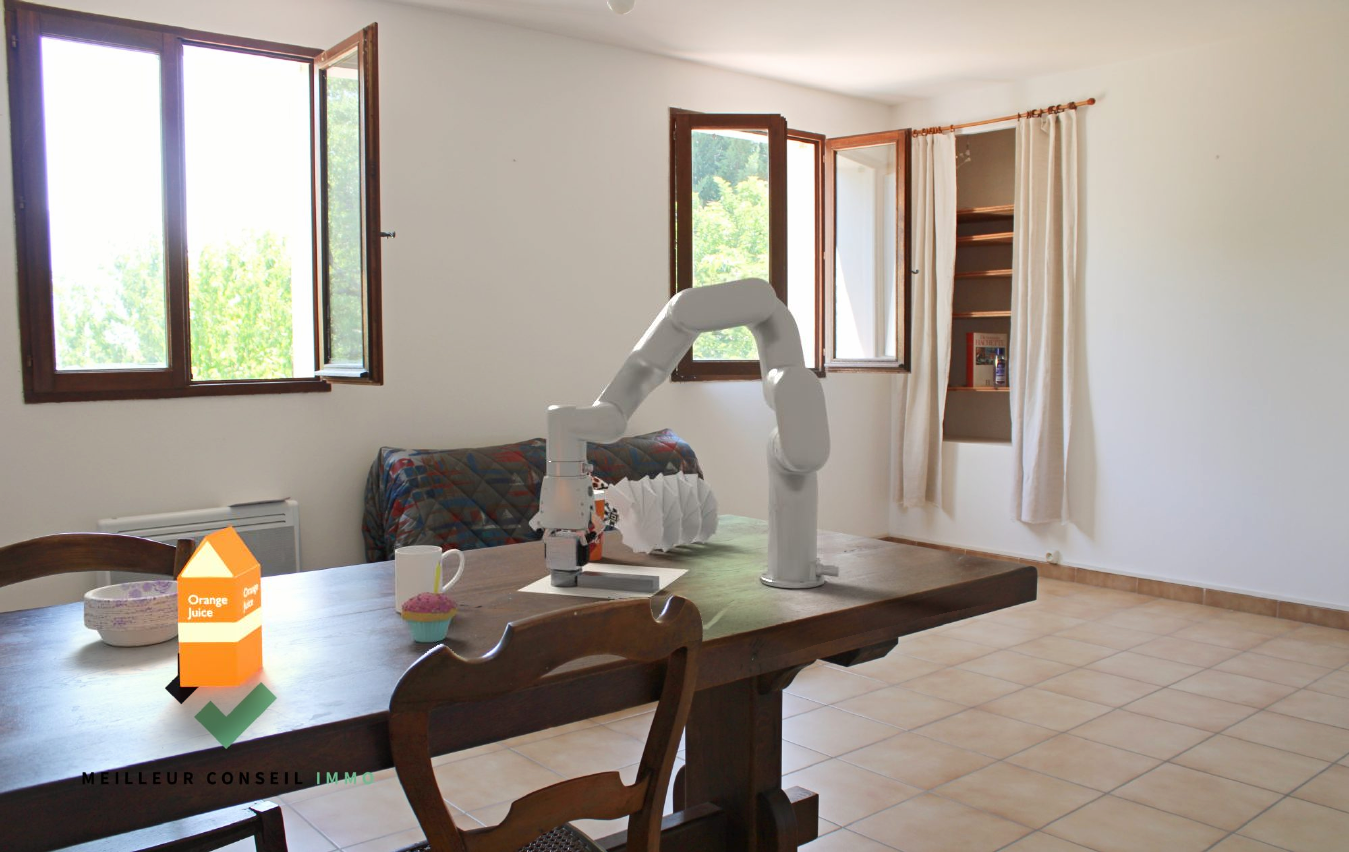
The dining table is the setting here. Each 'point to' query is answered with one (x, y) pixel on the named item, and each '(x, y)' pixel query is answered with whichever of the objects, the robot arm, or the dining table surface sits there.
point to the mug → (420, 571)
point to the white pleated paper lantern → (664, 511)
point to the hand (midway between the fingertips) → (567, 563)
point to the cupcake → (429, 613)
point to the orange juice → (219, 613)
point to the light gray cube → (563, 551)
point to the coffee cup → (598, 541)
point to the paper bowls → (133, 612)
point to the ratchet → (604, 580)
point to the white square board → (664, 579)
